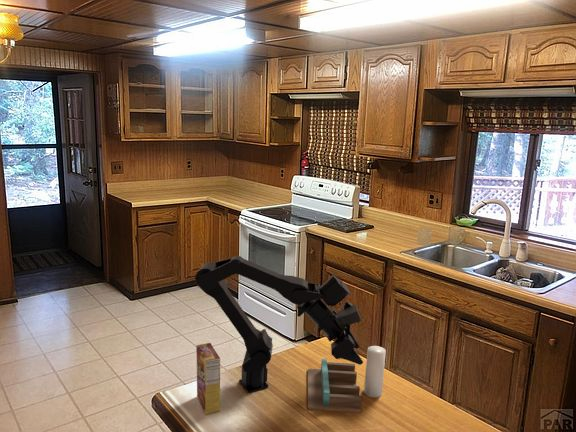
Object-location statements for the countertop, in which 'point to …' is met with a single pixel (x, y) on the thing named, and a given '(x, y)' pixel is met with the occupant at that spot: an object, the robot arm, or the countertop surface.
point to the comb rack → (334, 388)
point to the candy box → (208, 378)
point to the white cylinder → (374, 371)
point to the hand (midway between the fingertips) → (360, 355)
